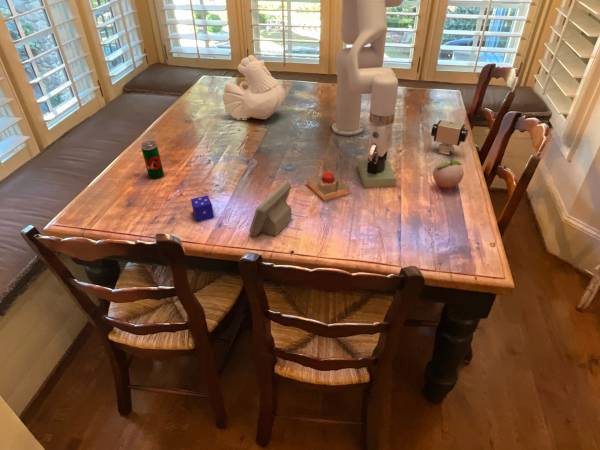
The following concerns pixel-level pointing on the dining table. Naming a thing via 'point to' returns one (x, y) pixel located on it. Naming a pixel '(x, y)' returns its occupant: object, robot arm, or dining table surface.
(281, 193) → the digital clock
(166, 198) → the dining table surface
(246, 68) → the decorative rooster
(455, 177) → the decorative fruit
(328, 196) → the button box
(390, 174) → the dial panel
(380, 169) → the dial knob
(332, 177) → the button
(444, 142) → the pneumatic valve
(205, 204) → the die
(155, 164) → the soda can
